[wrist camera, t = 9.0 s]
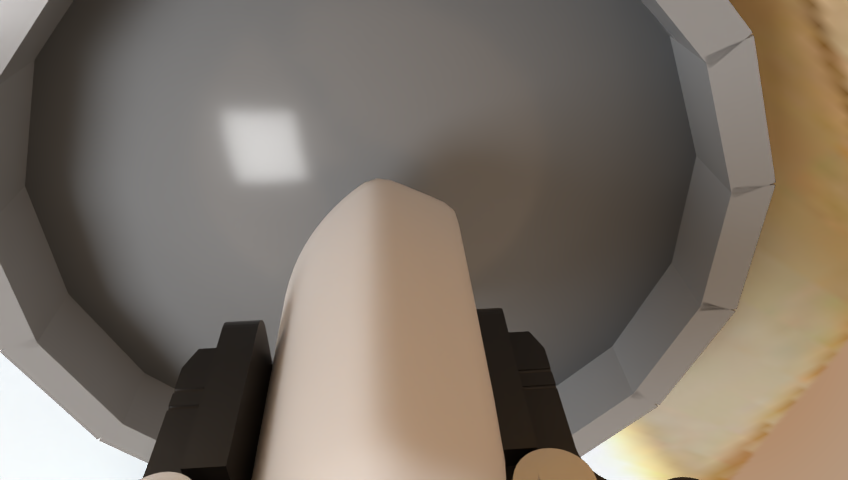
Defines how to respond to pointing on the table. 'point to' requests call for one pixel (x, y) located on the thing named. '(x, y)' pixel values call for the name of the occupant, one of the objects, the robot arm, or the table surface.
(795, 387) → the table surface
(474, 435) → the eye dropper bottle
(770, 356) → the table surface
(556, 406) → the robot arm
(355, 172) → the round tray
